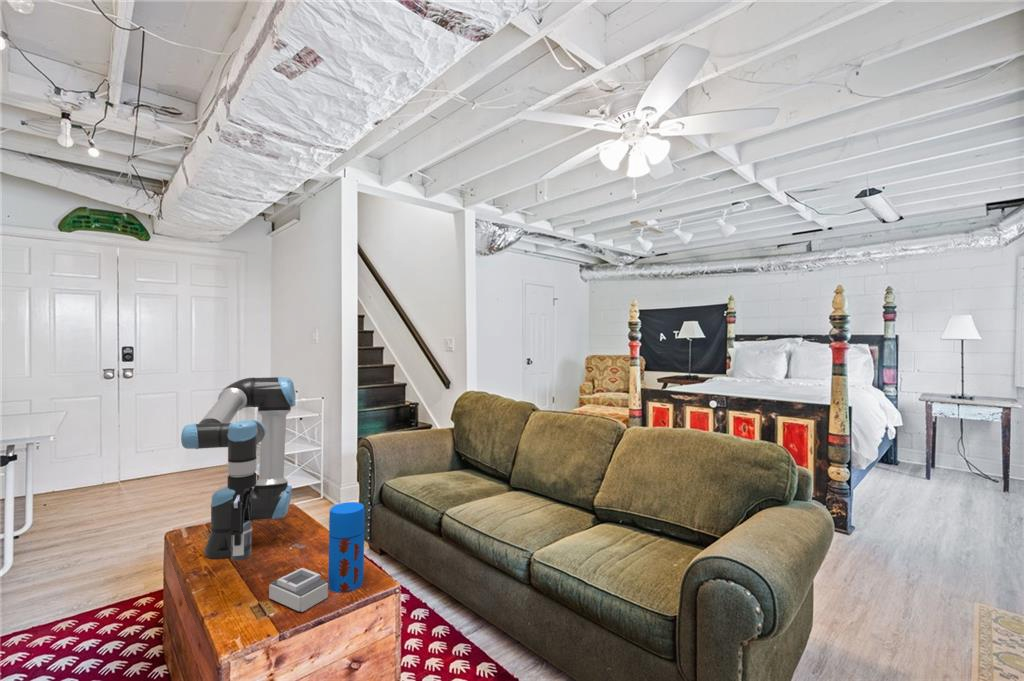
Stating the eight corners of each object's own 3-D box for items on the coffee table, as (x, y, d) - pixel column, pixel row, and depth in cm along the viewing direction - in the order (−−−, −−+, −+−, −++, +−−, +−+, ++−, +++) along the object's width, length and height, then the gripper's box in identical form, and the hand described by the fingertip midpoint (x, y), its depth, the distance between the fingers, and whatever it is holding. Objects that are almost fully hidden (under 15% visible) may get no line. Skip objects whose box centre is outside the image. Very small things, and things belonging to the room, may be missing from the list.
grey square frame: (269, 599, 141) (269, 577, 141) (296, 585, 150) (297, 564, 150) (300, 613, 134) (300, 590, 134) (327, 598, 143) (328, 576, 143)
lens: (226, 557, 138) (226, 524, 138) (244, 550, 143) (245, 517, 143) (237, 562, 135) (237, 528, 135) (255, 554, 140) (256, 521, 140)
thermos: (334, 576, 156) (335, 502, 156) (366, 575, 157) (367, 501, 157) (323, 593, 145) (325, 514, 145) (358, 592, 146) (360, 513, 146)
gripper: (237, 465, 146) (236, 538, 147) (217, 484, 129) (216, 567, 129) (263, 464, 148) (262, 535, 149) (247, 482, 131) (246, 563, 131)
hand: (241, 550), depth 139 cm, fingers closed on lens, 6 cm apart
